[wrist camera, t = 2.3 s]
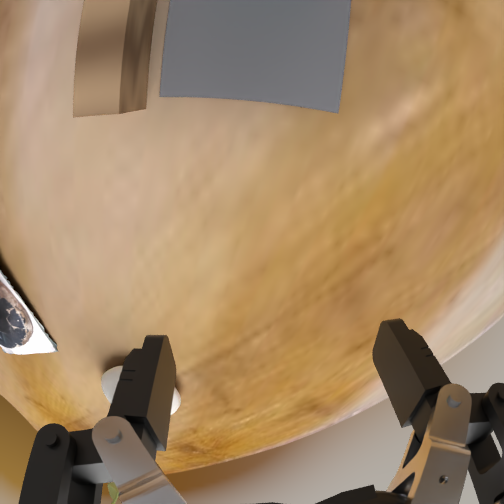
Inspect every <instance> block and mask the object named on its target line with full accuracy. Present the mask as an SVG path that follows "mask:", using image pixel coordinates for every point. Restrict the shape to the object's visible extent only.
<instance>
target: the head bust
mask: <svg viewBox="0 0 504 504" xmlns="http://www.w3.org/2000/svg"><path fill="white" fill-rule="evenodd" d="M0 346H1V347H2V348H3V349H2V350H3V351H4V352H5V353H9V354H21V355H22V354H33V353H49V352H57V351H58V350H56V347H57V345H56V344H55V343H54V342H53V341H52V340H51V339H50V338H49V336H48V334H46V333H45V332H44V328H43V326H42V325H41V324H40V323H39V322H38V320H37V319H36V318H35V317H34V315H33V313H32V312H31V311H30V310H29V309H28V307H27V306H26V305H25V303H24V302H23V300H22V299H21V297H20V296H19V294H18V293H17V292H16V291H14V290H13V286H11V285H10V282H9V281H8V280H7V277H6V276H4V275H3V273H2V272H1V270H0Z"/></svg>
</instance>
